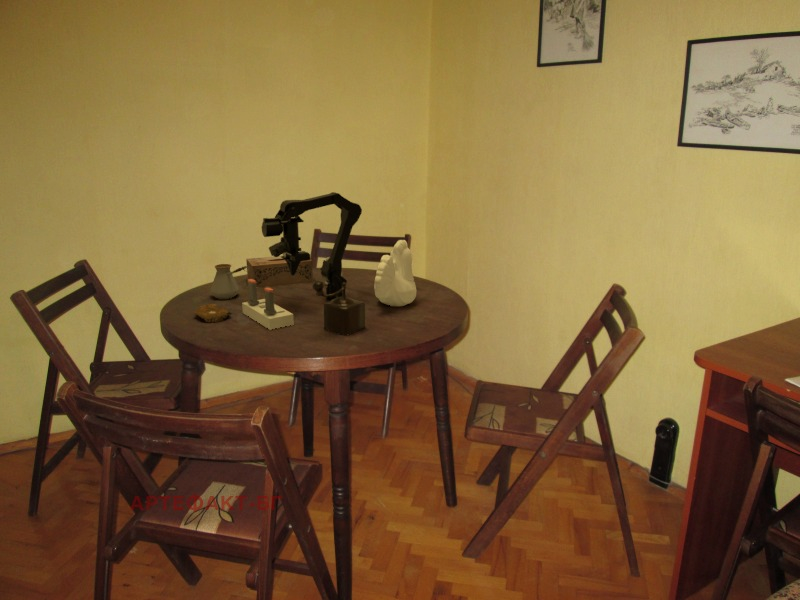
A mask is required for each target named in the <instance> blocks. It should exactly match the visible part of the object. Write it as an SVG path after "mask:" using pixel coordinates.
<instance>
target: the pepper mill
mask: <svg viewBox="0 0 800 600" xmlns="http://www.w3.org/2000/svg"><path fill="white" fill-rule="evenodd" d="M342 285H343V286H342V288H341V289H340V290H339V291H337V292H335V293H333V294H329V295H326V293H325V292H324V288H325V282H324V281H321V280H316V281H315V282H313V283H312V286H311V287H312V289H313V290H314V291H315V295H316V296H317V297H324V298H327V297H332V296H335V295H336V299H333V300H331V301H330V300H329V301H327V302H325V303H323V329H324V330H326V331H328V330H329V331H328V332H331V331H332V332H331V333H334V332H336V333H335V334H338V333H339V334H338V335H342V334H344V335H343V336H348V335H347V334H349V335H351V334H353V332H354V333H356V332H358V330H359V331H361V330H362V329H365V328H366V307H365V306H366V302H364V301H361V300H356V299H353V298H350V297H348V296H347V295H346V289H347V286H346V285H347V282H346V283H345V282H343V283H342ZM342 291H343V296H341V297H338V295H337V294H339V293H341V292H342ZM360 329H361V330H360ZM355 331H356V332H355ZM350 333H351V334H350Z"/></svg>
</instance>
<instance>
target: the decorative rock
mask: <svg viewBox="0 0 800 600" xmlns="http://www.w3.org/2000/svg"><path fill="white" fill-rule="evenodd" d="M193 315H196V316H198V318H201V319H202V320H204V321H205V322H206V323H220V321H221V322H223V320H225V319H227V318H228V316H229V315H230V316H231V315H232V311H229V310H228V309H226V308H223V307H220V306H218V305H217V304H215V303H209V304H203V305H200V306H197V308H196V309H195V311H193Z"/></svg>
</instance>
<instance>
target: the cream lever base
mask: <svg viewBox="0 0 800 600" xmlns="http://www.w3.org/2000/svg"><path fill="white" fill-rule="evenodd" d="M257 300H258V301H259V304H255V305H250V304H249V303H247V301H246V302H245V301H244V302H242V303H241V305H242V307H241V308H242V314H244V315H245V316H247V317H248V316H249V317H248V318H250V319H252V320H253V321H255V322H256V321H257V322H256V323H258V324H259V323H260V325H262V326H263V327H265V328H266V329H267V328H268V330H269V331H272V329H273V330H276V329H275V328H277V329H281V328H280V327H282V328H286V327H285V326H287V327H291V326H294V325H295V324H294V313H292V312H290V311H288V310H286V309H285V308H283V307H281V306H279V305H278V304H276V303H274V310H276V314H271V315H268V314H266V313H264V310H265V309H266V306H265V298H262V299H257ZM290 325H291V326H290Z"/></svg>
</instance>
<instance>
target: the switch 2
mask: <svg viewBox="0 0 800 600" xmlns="http://www.w3.org/2000/svg"><path fill="white" fill-rule="evenodd" d="M263 288H264V289H263V290H264V299H265V306H266V309H265V310H264V313H266V314H268V315H271V314H276V310H274V304H275V298H274V297H275V296H274V289H273V288H271V287H263Z"/></svg>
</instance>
